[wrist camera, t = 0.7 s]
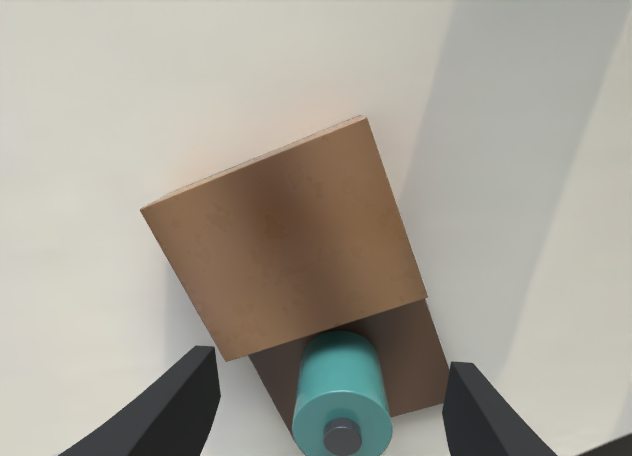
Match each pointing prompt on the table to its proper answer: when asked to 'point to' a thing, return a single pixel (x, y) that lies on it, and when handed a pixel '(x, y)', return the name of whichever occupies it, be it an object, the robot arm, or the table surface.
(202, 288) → the tier stand
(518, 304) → the table surface
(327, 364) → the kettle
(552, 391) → the table surface
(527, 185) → the table surface
